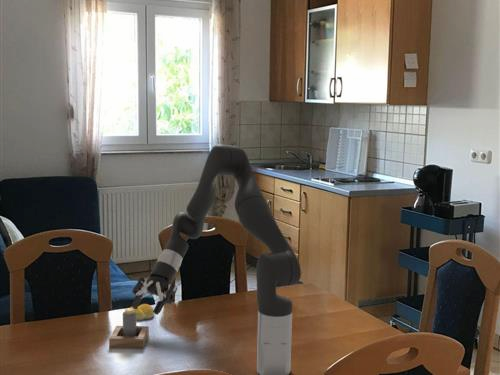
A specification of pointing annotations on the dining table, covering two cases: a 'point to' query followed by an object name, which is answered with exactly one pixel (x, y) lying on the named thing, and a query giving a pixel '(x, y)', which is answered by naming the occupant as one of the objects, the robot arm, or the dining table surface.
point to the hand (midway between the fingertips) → (144, 310)
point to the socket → (129, 338)
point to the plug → (129, 323)
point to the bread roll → (143, 312)
